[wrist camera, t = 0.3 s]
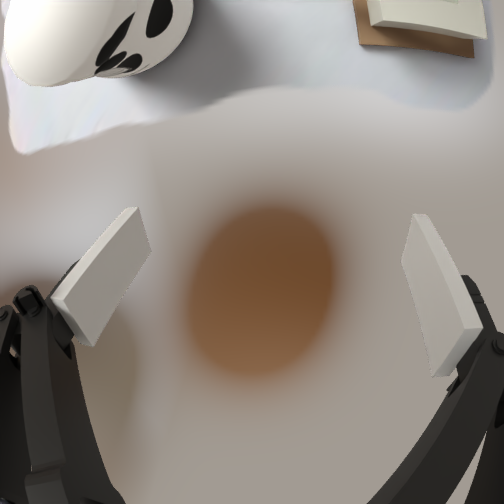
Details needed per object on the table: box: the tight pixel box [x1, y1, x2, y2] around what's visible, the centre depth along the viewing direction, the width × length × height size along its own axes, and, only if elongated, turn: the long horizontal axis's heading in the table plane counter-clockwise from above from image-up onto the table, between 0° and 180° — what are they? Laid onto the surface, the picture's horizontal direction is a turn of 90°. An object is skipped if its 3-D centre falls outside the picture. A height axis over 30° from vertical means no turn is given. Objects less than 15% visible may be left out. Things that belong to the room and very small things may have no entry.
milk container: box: [4, 0, 193, 87], centre depth 21 cm, size 17×17×18 cm
